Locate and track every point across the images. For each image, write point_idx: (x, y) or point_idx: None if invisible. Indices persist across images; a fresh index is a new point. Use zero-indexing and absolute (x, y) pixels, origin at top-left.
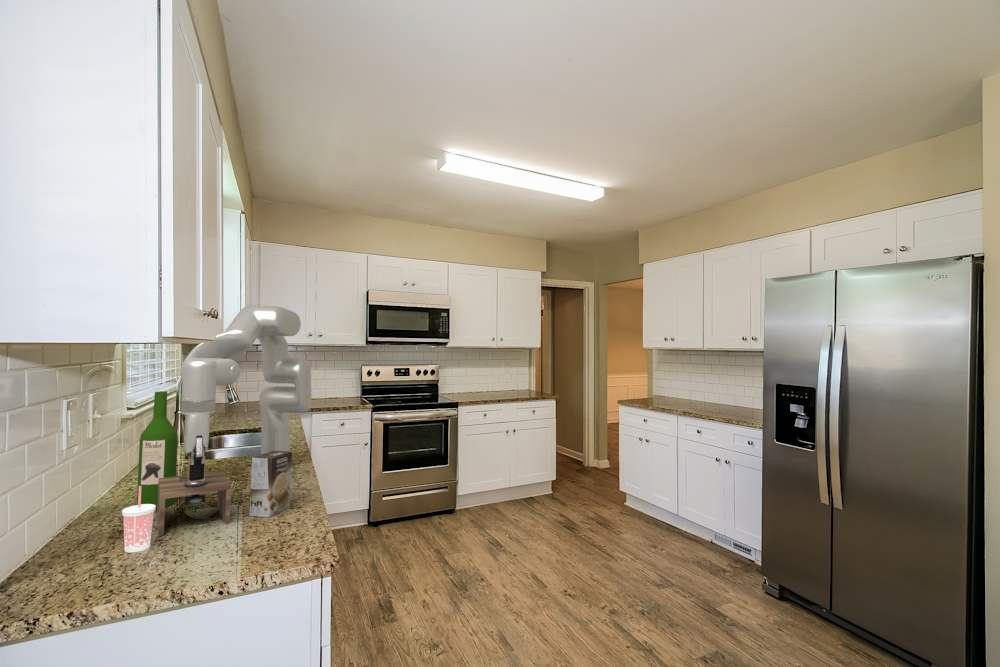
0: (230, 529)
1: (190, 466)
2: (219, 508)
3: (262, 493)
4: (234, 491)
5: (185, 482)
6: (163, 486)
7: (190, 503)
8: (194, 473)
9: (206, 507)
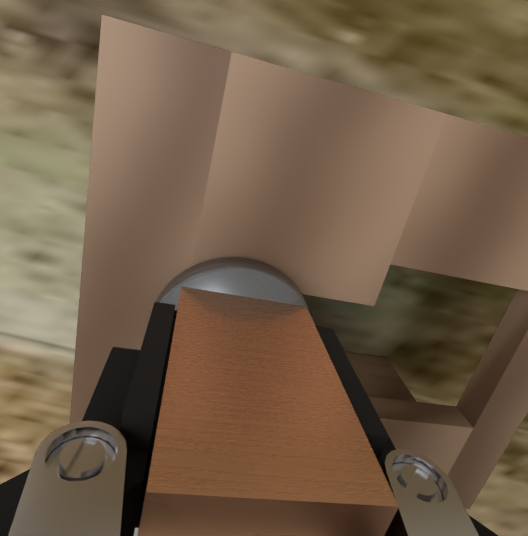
0: (40, 318)
1: (127, 404)
2: None
3: None
4: None
5: (218, 272)
6: (386, 131)
7: None
8: (104, 375)
9: (406, 325)
